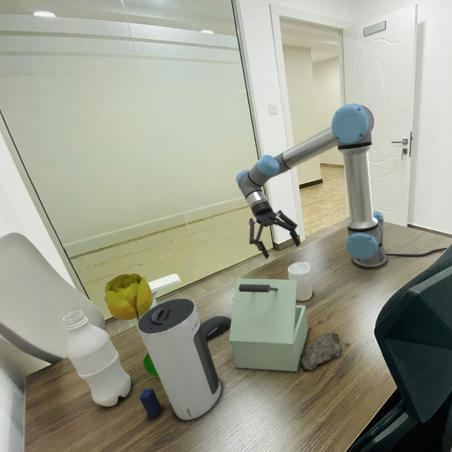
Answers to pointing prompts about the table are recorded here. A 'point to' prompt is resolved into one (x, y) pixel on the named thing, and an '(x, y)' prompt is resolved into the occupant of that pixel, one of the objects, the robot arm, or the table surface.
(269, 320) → the lid
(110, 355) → the water bottle
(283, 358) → the chest
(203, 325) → the computer mouse
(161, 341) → the white cylindrical appliance
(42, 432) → the table surface
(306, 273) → the cup
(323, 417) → the table surface
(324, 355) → the stone
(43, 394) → the table surface
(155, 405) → the eraser
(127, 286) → the flower
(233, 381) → the table surface
